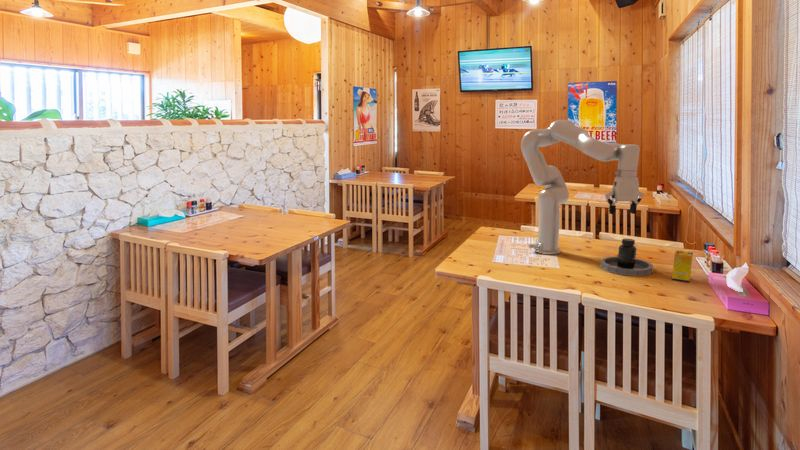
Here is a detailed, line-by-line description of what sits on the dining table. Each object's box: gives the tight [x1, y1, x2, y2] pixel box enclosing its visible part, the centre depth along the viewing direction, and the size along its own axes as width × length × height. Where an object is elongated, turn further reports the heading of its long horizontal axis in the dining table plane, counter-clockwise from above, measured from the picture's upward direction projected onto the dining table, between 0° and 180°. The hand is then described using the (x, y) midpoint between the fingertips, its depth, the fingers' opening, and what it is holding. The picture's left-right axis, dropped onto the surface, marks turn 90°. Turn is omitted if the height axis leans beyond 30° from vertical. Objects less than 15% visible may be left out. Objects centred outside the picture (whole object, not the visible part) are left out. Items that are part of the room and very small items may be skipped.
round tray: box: [599, 256, 654, 277], centre depth 197 cm, size 20×20×2 cm
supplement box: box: [671, 250, 694, 284], centre depth 182 cm, size 6×6×11 cm
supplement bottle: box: [617, 238, 637, 269], centre depth 196 cm, size 7×7×12 cm
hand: (622, 213), depth 198 cm, fingers open, 9 cm apart
